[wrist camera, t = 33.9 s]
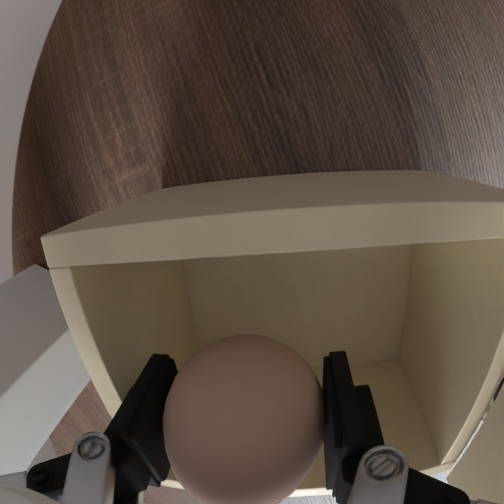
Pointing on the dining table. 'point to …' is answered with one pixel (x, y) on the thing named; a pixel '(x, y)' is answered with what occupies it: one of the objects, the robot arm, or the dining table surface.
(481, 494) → the box lid with handle
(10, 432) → the milk carton
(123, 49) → the dining table surface
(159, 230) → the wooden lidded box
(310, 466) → the egg
